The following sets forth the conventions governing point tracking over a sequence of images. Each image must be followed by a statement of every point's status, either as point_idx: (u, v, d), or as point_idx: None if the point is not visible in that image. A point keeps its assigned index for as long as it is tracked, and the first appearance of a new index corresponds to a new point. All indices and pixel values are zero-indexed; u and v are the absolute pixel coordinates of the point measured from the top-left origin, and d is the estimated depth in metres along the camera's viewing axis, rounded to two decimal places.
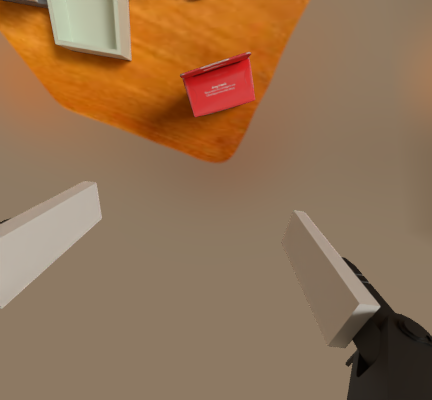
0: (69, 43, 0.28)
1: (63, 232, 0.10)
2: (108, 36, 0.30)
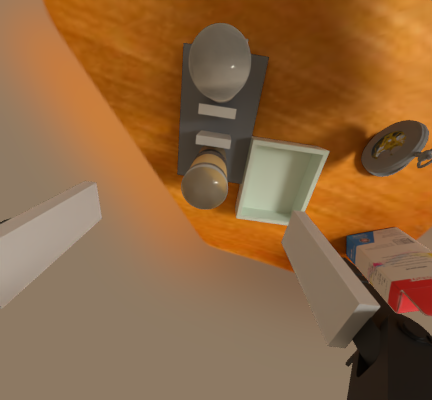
0: (250, 218, 0.29)
1: (63, 232, 0.10)
2: (278, 200, 0.31)
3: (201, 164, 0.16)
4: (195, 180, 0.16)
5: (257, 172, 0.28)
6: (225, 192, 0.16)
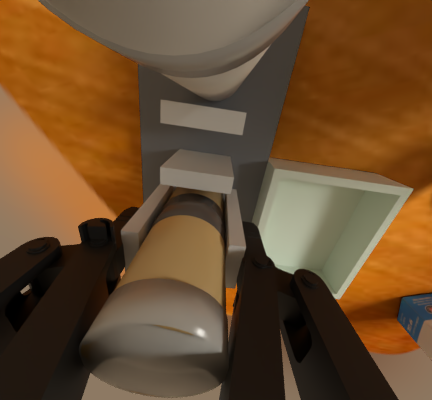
0: None
1: None
2: (304, 253, 0.20)
3: (140, 299, 0.05)
4: (123, 350, 0.05)
5: (274, 213, 0.18)
6: (221, 374, 0.05)
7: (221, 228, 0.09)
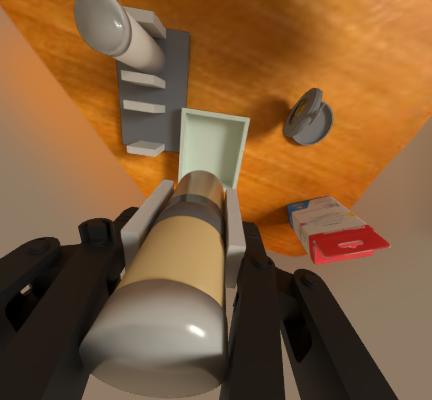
0: None
1: None
2: (219, 170, 0.33)
3: (140, 300, 0.05)
4: (123, 351, 0.05)
5: (196, 142, 0.31)
6: (220, 375, 0.05)
7: (221, 229, 0.09)
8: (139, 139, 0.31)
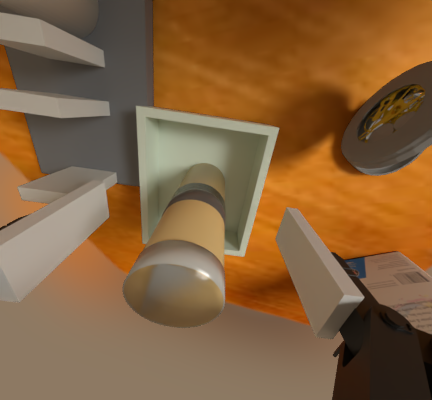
0: None
1: (74, 230, 0.10)
2: None
3: (165, 251, 0.07)
4: (153, 286, 0.07)
5: (175, 169, 0.17)
6: (219, 306, 0.07)
7: (222, 211, 0.12)
8: (69, 164, 0.17)
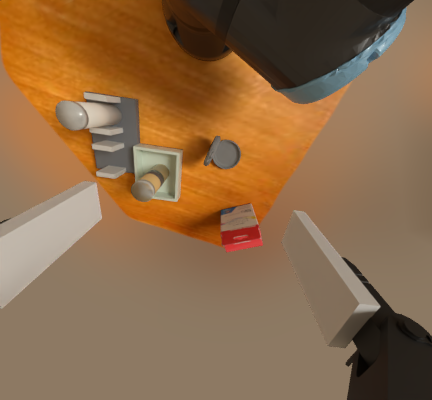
0: None
1: (63, 232, 0.10)
2: (167, 185, 0.46)
3: (140, 180, 0.34)
4: (137, 188, 0.34)
5: (149, 166, 0.44)
6: (152, 193, 0.34)
7: (159, 177, 0.38)
8: (108, 164, 0.44)
